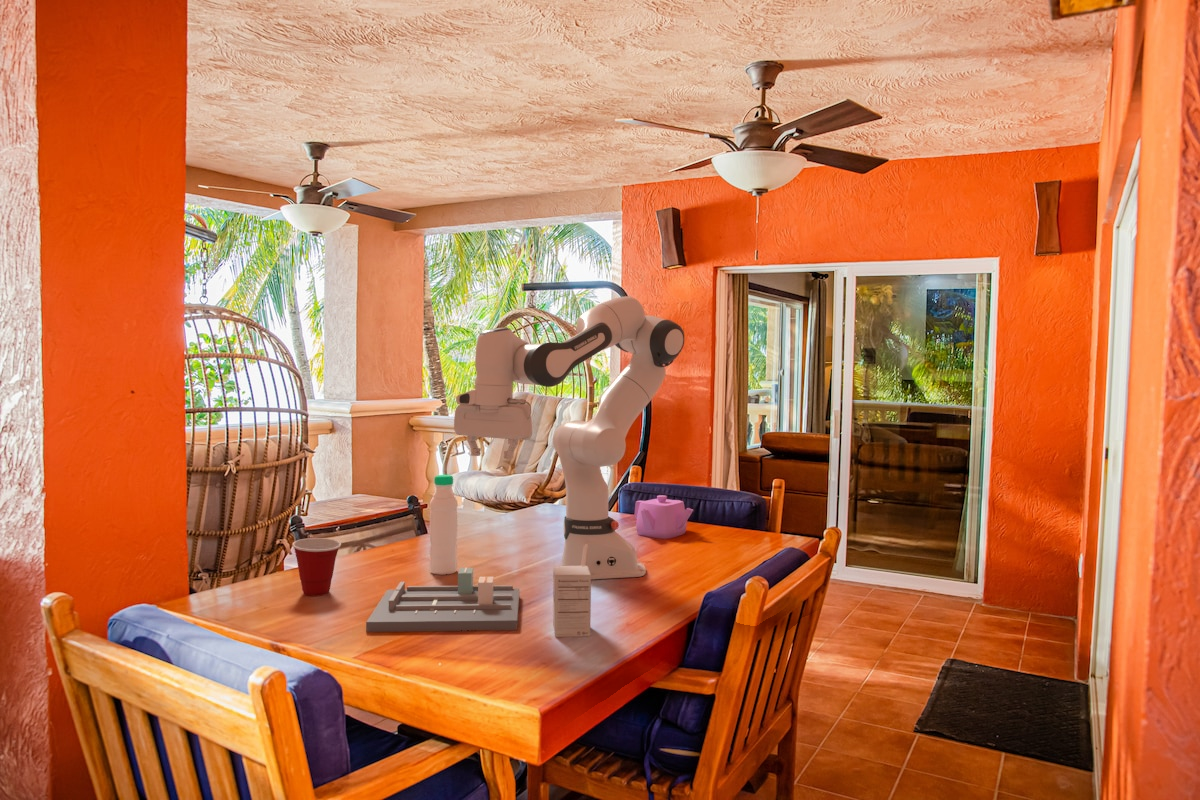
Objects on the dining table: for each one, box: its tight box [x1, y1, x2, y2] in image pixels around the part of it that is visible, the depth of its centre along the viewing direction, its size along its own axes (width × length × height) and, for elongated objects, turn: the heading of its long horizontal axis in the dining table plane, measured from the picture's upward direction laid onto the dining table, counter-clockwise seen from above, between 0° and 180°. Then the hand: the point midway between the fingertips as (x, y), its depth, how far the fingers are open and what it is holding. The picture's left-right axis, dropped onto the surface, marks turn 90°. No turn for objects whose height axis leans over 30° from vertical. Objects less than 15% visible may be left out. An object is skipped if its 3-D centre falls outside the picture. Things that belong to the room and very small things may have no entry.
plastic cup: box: [291, 537, 342, 597], centre depth 195 cm, size 11×11×12 cm
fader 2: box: [477, 575, 494, 604], centre depth 181 cm, size 3×5×5 cm, turn 4°
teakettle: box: [633, 494, 694, 540], centre depth 268 cm, size 17×17×12 cm
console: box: [365, 581, 520, 633], centre depth 180 cm, size 30×24×4 cm
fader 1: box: [457, 566, 474, 594], centre depth 189 cm, size 3×5×5 cm, turn 4°
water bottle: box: [428, 474, 458, 576], centre depth 216 cm, size 7×7×25 cm
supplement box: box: [552, 565, 592, 638], centre depth 169 cm, size 7×7×13 cm
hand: (492, 457), depth 194 cm, fingers open, 8 cm apart
